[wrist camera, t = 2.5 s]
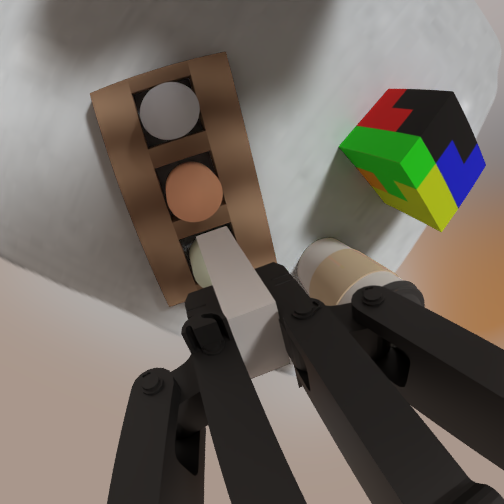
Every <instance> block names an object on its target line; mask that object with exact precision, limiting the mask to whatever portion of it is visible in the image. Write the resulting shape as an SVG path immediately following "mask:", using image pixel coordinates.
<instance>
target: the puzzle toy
mask: <svg viewBox="0 0 504 504" xmlns="http://www.w3.org/2000/svg"><path fill="white" fill-rule="evenodd" d="M339 148H340V149H341V150H342V151H343V152H344V154H345V155H346V156H347V157H348V158H349V159H350V161H351V162H352V163H353V164H354V165H355V167H356V168H357V169H358V170H359V171H360V173H361V174H362V175H363V176H364V178H365V179H366V180H367V181H368V183H369V184H370V185H371V186H372V188H373V189H374V190H375V191H376V193H377V194H378V195H379V197H380V198H381V199H382V200H383V202H384V203H385V204H387V205H389V206H391V207H393V208H395V209H397V210H399V211H401V212H403V213H405V214H407V215H409V216H411V217H413V218H415V219H417V220H419V221H421V222H423V223H425V224H427V225H429V226H431V227H432V228H434V229H436V230H438V231H440V232H442V231H443V230H444V228H445V227H446V225H447V224H448V223H449V221H450V220H451V218H452V217H453V215H454V214H455V212H456V211H457V210H458V208H459V207H460V205H461V204H462V202H463V200H464V199H465V198H466V196H467V195H468V193H469V192H470V190H471V188H472V187H473V185H474V184H475V182H476V180H477V179H478V177H479V176H480V174H481V172H482V171H483V169H484V168H485V166H486V164H485V162H484V159H483V156H482V154H481V151H480V148H479V146H478V144H477V141H476V139H475V136H474V134H473V132H472V129H471V127H470V125H469V123H468V121H467V118H466V116H465V114H464V112H463V110H462V108H461V106H460V104H459V102H458V100H457V98H456V96H455V94H454V92H452V91H439V90H420V89H388V90H387V91H386V92H385V93H384V95H383V96H382V97H381V98H380V99H379V100H378V102H377V103H376V104H375V105H374V106H373V107H372V108H371V110H370V111H369V112H368V113H367V114H366V115H365V117H364V118H363V119H362V120H361V121H360V122H359V123H358V125H357V126H356V127H355V128H354V129H353V130H352V132H351V133H350V134H349V135H348V136H347V137H346V139H345V140H344V141H343V142H342V143H341V144H340V146H339Z"/></svg>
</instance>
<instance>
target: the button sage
mask: <svg viewBox="0 0 504 504" xmlns="http://www.w3.org/2000/svg"><path fill="white" fill-rule="evenodd" d="M189 257H190V262H191V266H192V270H193V274H194V277H195V280H196V281H197V283H198V284H199V285H200V286H201V287H203V288H205V287H208V286H211V285H212V282H211V279H210V276H209V273H208V271H207V268H206V265H205V262H204V259H203V256H202V254H201V251H200V248H199V245H198V242H197V239H195V241H194V242H193V243H192V245H191V247H190V251H189Z"/></svg>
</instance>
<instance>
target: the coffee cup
mask: <svg viewBox="0 0 504 504" xmlns="http://www.w3.org/2000/svg"><path fill="white" fill-rule="evenodd" d="M297 273H298V278H299V280H300V282H301V283H302V285H303V286H304V288H305V289H306V291H307V293H308V294H309V296H310V298H315V299H318V300H320V301H321V302H323V303H324V304H325V305H327V306H334V305H341V304H346V303H351V299H352V295H353V294H354V293H355V292H356V291H357V290H358V289H360V288H362V287H365V286H370V285H377V286H382V287H385V288H388V289H390V290H391V291H393V292H395V293H397V294H399V295H401V296H403V297H405V298H407V299H409V300H411V301H413V302H415V303H417V304H419V305H421V306H423V307H424V298H423V295H422V293H421V292H420V291H419V290H418V289H417V287H416V286H415V285H414V284H413V283H411V282H409V281H404V280H402V279H400V278H399V277H398V276H397V275H396V274H395V273H394V272H392V271H391V270H389V269H387V268H386V267H384V266H382V265H381V264H379V263H378V262H376V261H374V260H373V259H371V258H369V257H368V256H366V255H364V254H363V253H361V252H359V251H357V250H355V249H352V248H350V247H349V246H347V245H345V244H344V243H342V242H340V241H339V240H337V239H334V238H322V239H319V240H317V241H315V242H314V243H312V244H311V245H310V246H308V247H307V249H306V250H305V251H304V252H303V254H302V256H301V258H300V260H299V263H298V268H297Z"/></svg>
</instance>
